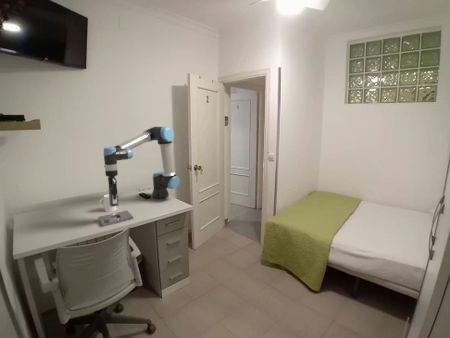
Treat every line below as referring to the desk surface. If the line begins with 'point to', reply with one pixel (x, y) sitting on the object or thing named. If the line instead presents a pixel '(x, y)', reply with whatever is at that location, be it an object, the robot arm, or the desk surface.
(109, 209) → the mug
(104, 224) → the socket plate
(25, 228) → the desk surface
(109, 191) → the plug
